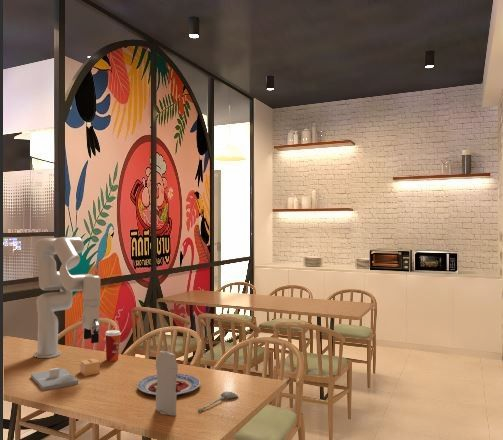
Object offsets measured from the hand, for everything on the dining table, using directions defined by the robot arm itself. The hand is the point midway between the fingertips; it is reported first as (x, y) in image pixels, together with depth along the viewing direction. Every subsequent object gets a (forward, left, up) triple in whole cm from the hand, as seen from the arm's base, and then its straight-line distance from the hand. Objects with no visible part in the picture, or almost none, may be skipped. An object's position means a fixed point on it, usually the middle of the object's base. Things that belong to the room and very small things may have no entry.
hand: (91, 340), depth 212 cm
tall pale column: (+60, +7, -15) cm, 62 cm away
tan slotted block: (0, 0, -15) cm, 15 cm away
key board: (+2, -16, -15) cm, 22 cm away
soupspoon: (+63, +27, -15) cm, 70 cm away
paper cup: (-14, +16, -15) cm, 26 cm away
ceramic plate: (+38, +20, -15) cm, 45 cm away
